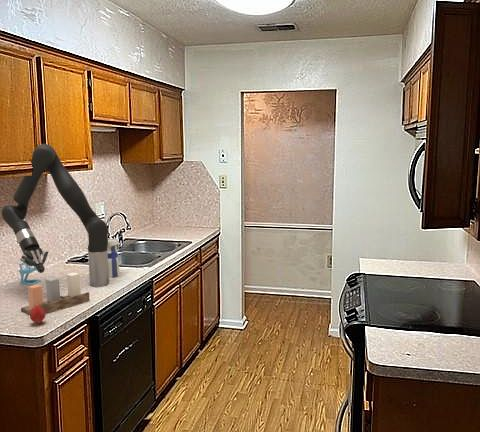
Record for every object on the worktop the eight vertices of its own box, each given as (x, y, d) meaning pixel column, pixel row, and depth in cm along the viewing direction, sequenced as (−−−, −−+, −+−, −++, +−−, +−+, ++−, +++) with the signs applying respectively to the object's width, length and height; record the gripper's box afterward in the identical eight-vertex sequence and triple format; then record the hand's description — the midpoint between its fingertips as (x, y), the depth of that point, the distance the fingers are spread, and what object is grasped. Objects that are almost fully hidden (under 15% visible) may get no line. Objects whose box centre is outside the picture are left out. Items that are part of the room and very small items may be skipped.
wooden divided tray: (76, 296, 229) (75, 287, 228) (89, 301, 222) (89, 292, 221) (21, 311, 209) (20, 302, 209) (33, 317, 202) (33, 307, 202)
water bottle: (108, 279, 256) (105, 231, 252) (101, 275, 262) (99, 229, 258) (123, 276, 260) (121, 229, 256) (116, 272, 267) (114, 227, 263)
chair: (26, 280, 254) (24, 257, 252) (41, 281, 252) (39, 258, 250) (17, 284, 247) (15, 261, 245) (32, 285, 245) (30, 262, 243)
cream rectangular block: (75, 293, 227) (74, 272, 225) (80, 295, 224) (79, 274, 223) (67, 295, 224) (66, 274, 222) (72, 297, 221) (71, 275, 220)
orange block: (38, 306, 209) (37, 284, 208) (43, 309, 207) (41, 286, 205) (29, 309, 206) (27, 286, 205) (34, 311, 204) (32, 288, 202)
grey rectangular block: (55, 298, 219) (54, 277, 218) (60, 300, 217) (58, 278, 215) (47, 301, 216) (45, 279, 215) (51, 303, 214) (50, 280, 212)
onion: (27, 325, 194) (25, 305, 193) (37, 320, 199) (36, 301, 198) (38, 327, 192) (37, 307, 190) (49, 322, 197) (47, 302, 196)
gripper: (15, 238, 218) (30, 269, 213) (43, 234, 228) (58, 264, 223) (10, 248, 223) (25, 279, 217) (38, 243, 233) (53, 273, 227)
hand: (42, 271), depth 220 cm, fingers closed
